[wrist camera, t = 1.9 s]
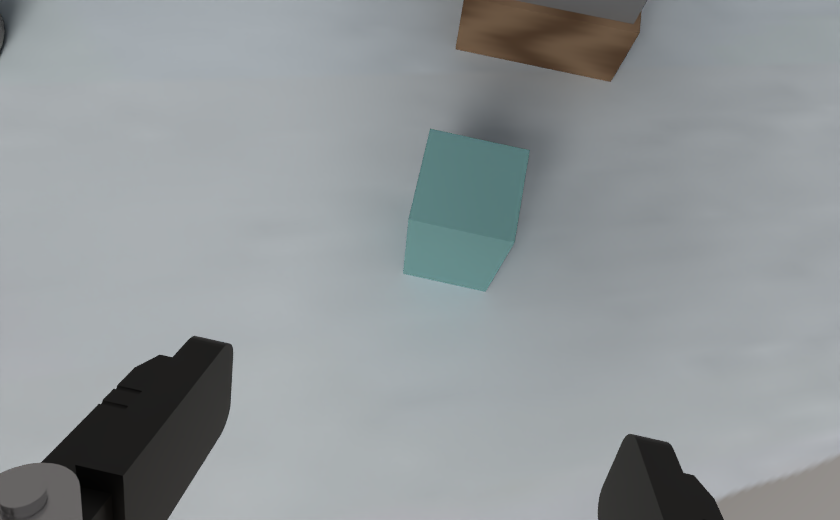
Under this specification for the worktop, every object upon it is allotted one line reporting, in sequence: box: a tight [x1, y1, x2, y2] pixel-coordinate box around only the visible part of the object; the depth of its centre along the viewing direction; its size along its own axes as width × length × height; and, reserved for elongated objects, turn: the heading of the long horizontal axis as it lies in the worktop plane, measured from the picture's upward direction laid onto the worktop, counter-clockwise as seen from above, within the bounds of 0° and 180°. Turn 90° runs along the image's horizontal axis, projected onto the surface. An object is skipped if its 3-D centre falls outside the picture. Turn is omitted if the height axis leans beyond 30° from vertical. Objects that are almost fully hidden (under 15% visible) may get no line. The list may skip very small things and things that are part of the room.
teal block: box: [403, 129, 530, 291], centre depth 31 cm, size 5×5×8 cm
